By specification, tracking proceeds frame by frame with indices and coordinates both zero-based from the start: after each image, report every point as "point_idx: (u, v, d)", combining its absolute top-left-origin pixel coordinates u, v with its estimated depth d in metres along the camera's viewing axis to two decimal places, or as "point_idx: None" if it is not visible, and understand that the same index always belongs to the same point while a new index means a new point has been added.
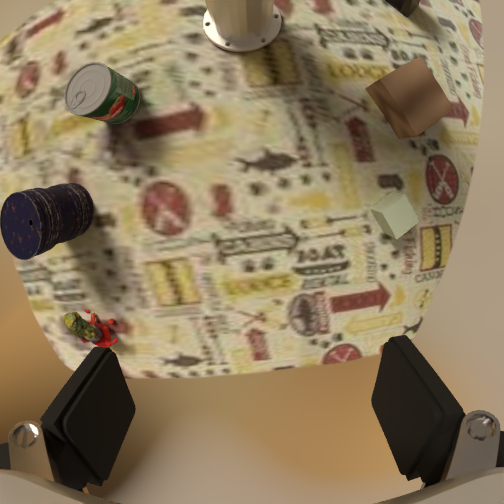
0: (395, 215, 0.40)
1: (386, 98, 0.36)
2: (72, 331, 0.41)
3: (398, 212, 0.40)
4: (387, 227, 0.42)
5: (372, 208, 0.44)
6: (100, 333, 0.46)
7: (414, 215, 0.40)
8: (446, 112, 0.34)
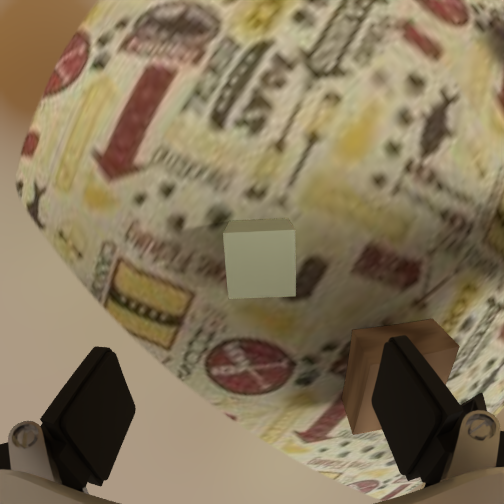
0: (272, 254, 0.21)
1: (428, 341, 0.23)
2: None
3: (274, 263, 0.21)
4: (251, 227, 0.22)
5: None
6: None
7: (246, 294, 0.21)
8: (358, 423, 0.24)
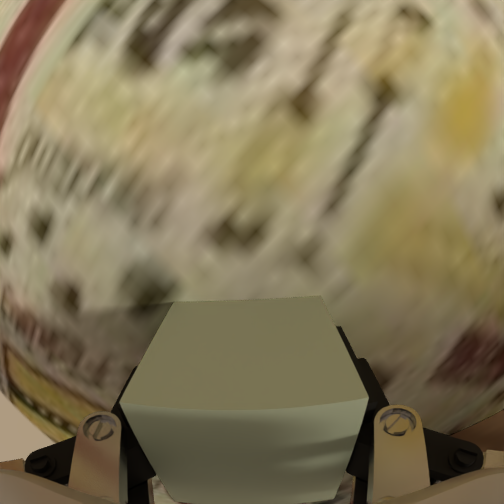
0: (285, 455, 0.05)
1: None
2: None
3: (287, 468, 0.05)
4: (219, 365, 0.06)
5: None
6: None
7: (214, 501, 0.06)
8: None
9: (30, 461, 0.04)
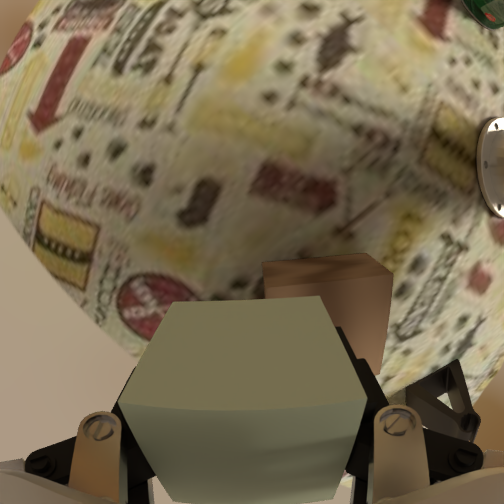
0: (283, 455, 0.05)
1: (351, 269, 0.23)
2: None
3: (286, 468, 0.05)
4: (217, 365, 0.06)
5: None
6: None
7: (213, 501, 0.06)
8: None
9: (30, 460, 0.04)
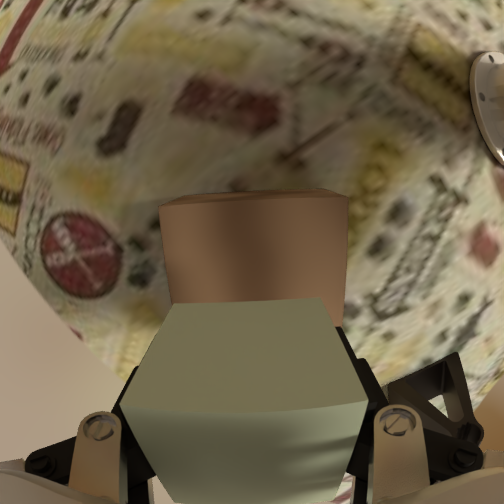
0: (284, 457, 0.05)
1: (289, 194, 0.16)
2: None
3: (287, 470, 0.05)
4: (219, 368, 0.06)
5: None
6: None
7: (214, 502, 0.06)
8: None
9: (30, 461, 0.04)
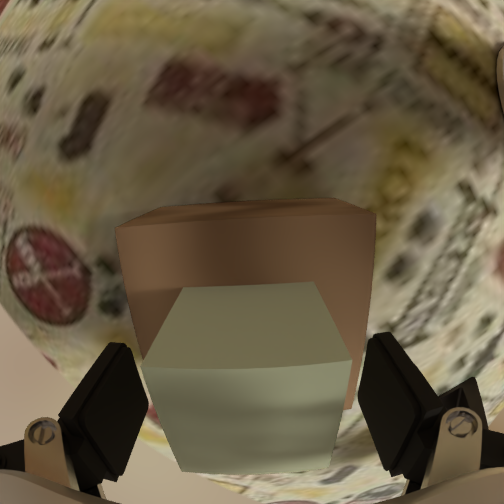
0: (282, 415, 0.07)
1: (293, 208, 0.12)
2: None
3: (285, 430, 0.07)
4: (225, 336, 0.08)
5: None
6: None
7: (218, 469, 0.07)
8: None
9: None
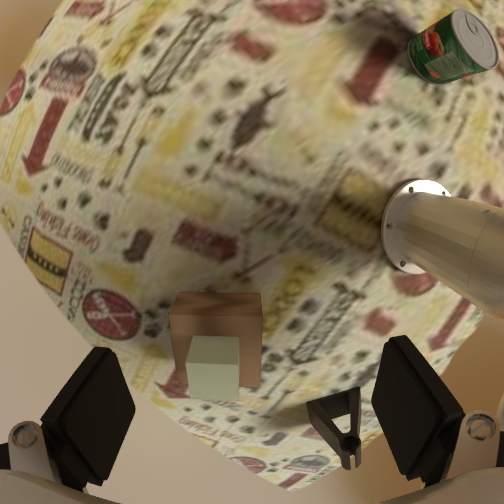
0: (221, 377, 0.26)
1: (235, 308, 0.32)
2: None
3: (222, 382, 0.26)
4: (207, 355, 0.27)
5: (238, 342, 0.30)
6: None
7: (203, 397, 0.27)
8: (178, 372, 0.32)
9: None
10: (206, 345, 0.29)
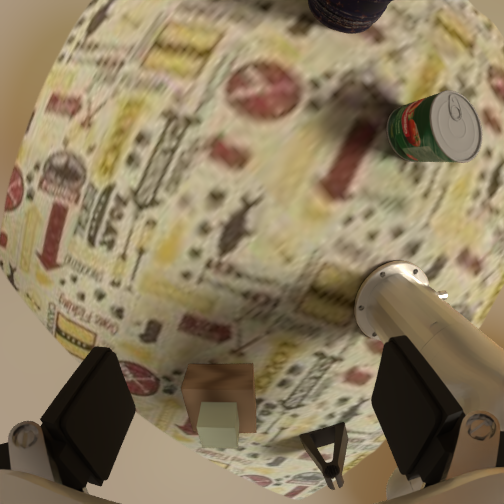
0: (223, 435, 0.33)
1: (232, 380, 0.38)
2: None
3: (224, 438, 0.33)
4: (212, 419, 0.34)
5: (236, 406, 0.36)
6: None
7: (211, 446, 0.33)
8: (192, 424, 0.39)
9: None
10: (211, 411, 0.35)
